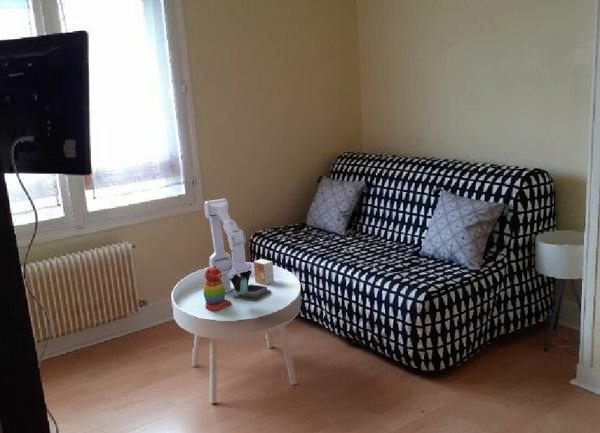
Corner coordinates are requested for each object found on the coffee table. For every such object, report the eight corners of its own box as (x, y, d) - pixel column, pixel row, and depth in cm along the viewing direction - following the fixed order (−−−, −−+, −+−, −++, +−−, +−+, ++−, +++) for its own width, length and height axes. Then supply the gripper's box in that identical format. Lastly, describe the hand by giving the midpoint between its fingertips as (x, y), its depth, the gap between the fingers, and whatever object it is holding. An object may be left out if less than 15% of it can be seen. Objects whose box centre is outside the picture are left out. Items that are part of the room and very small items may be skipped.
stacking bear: (217, 312, 259) (213, 272, 255) (199, 308, 264) (195, 270, 260) (233, 303, 268) (229, 265, 264) (215, 300, 273) (211, 262, 269)
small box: (255, 281, 294) (253, 261, 292) (263, 278, 298) (262, 258, 296) (265, 285, 289) (263, 264, 286) (274, 282, 292) (272, 261, 290)
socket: (234, 297, 275) (233, 291, 274) (249, 289, 285) (249, 283, 284) (256, 301, 269) (255, 294, 268) (271, 292, 278) (270, 286, 278)
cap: (233, 293, 262) (232, 279, 260) (240, 289, 266) (239, 275, 264) (243, 294, 259) (241, 280, 258) (249, 291, 263) (248, 277, 262)
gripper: (236, 265, 251) (239, 295, 254) (256, 255, 263) (258, 284, 266) (222, 263, 254) (225, 293, 258) (243, 253, 266) (245, 282, 270)
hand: (241, 289), depth 262 cm, fingers closed on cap, 5 cm apart
